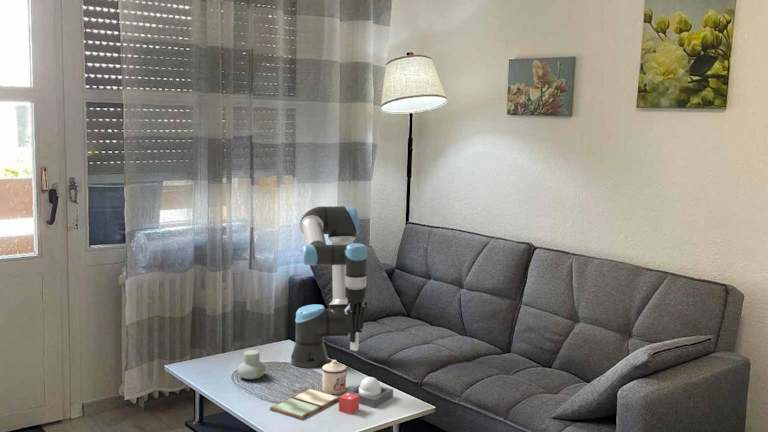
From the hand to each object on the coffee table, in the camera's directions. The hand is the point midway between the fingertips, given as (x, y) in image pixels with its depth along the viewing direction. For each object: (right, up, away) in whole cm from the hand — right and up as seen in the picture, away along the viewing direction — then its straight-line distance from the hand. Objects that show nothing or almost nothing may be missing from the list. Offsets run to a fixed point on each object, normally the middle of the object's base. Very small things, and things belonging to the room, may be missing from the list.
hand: (354, 349), depth 270 cm
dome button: (+6, -16, -2) cm, 18 cm away
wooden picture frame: (-17, -18, -9) cm, 26 cm away
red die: (-1, -19, -13) cm, 23 cm away
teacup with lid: (-7, -16, +6) cm, 18 cm away
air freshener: (-40, -14, +16) cm, 46 cm away
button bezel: (+6, -17, -2) cm, 18 cm away
